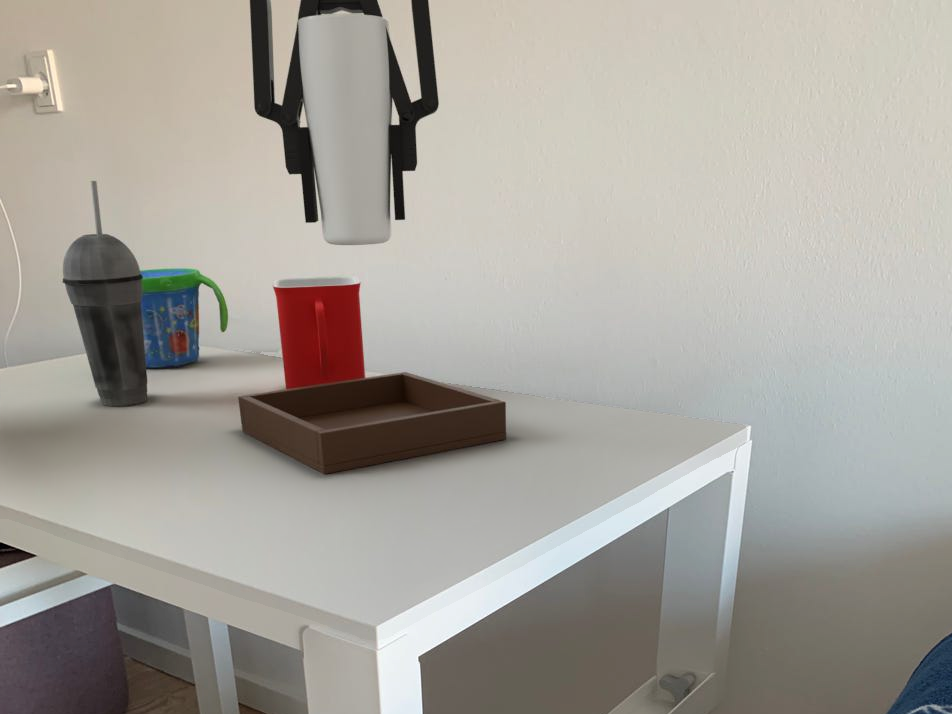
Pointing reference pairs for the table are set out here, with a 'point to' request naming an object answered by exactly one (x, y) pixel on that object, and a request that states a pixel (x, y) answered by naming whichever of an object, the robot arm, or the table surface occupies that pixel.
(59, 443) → the table surface
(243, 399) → the serving tray
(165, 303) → the snack cup
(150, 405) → the table surface
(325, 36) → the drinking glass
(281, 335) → the mug
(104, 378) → the beverage cup
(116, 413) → the table surface
